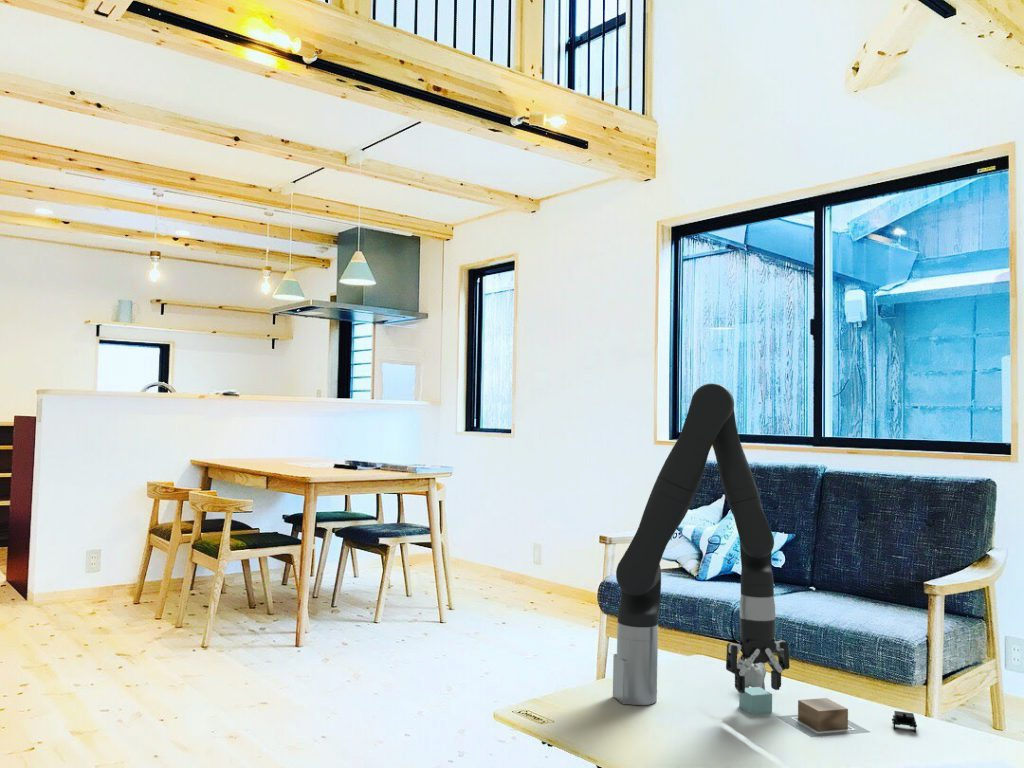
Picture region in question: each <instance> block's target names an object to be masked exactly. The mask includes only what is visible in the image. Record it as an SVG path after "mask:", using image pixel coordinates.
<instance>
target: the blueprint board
mask: <svg viewBox="0 0 1024 768" xmlns="http://www.w3.org/2000/svg"><path fill="white" fill-rule="evenodd" d="M776 717H777V718H779V719H780V720H782V721H784V722H785V723H787V724H788V725H790V726H792V727H793V728H795V729H797V730H799V731H800V732H801V733H803V734H805V735H807V736H808V737H810V738H815V737H816V738H817V737H827V736H828V737H829V736H839V735H852V734H864V733H871V731H870V730H868V729H866V728H864V727H862V726H860V725H858V724H856V723H854V722H853V721H851V720H849V719H848V729H838V730H826V731H817V730H816V729H814V728H812V727H811V726H809V725H807V724H805V723H804V722H802V721H800V720H798V714H788V715H777V716H776Z"/></svg>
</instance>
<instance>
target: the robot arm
mask: <svg viewBox="0 0 1024 768" xmlns="http://www.w3.org/2000/svg"><path fill="white" fill-rule="evenodd" d="M735 414H736V413H735V399H734V396H733V394H732V392H731V391H730V390H729V389H728V388H727V387H726V386H724V385H721V384H720V383H713V382H710V383H706V384H703V385H701V386H699V387H698V388H697V389H696V390H695V391H694V392H693V395H692V397H691V399H690V404H689V407H688V410H687V413H686V416H685V417H686V418H685V421H684V423H683V426H682V429H681V432H680V434H679V436H678V438H677V439H676V442H675V444H674V445H673V446H672V448H671V450H670V452H669V454H668V456H667V458H666V459H665V460H664V463H663V465H662V467H661V469H660V471H659V472H658V473H659V474H658V475H657V478H656V480H655V482H654V484H653V487H652V490H651V491H650V494H649V496H648V499H647V502H646V505H645V507H644V509H643V513H642V516H641V518H640V521H639V525H638V528H637V530H636V533H635V534H634V536H633V537H632V539H631V541H630V543H629V545H628V546H627V549H626V550H625V552H624V553H623V556H622V557H621V559H620V560H619V562H618V564H617V566H616V570H615V575H616V576H615V578H616V582H617V584H618V587H619V588H620V590H621V591H620V599H619V600H620V601H619V605H618V608H617V631H616V632H617V633H616V635H617V636H616V637H617V638H616V653H614V654H613V659H612V660H613V663H612V664H613V665H612V696H613V698H615V699H616V701H617V700H619V702H620V703H621V704H622V705H633V706H648V705H653V704H655V703H657V699H658V697H657V696H658V655H659V654H658V651H659V650H658V648H659V647H658V645H659V644H658V643H659V642H658V641H659V615H660V610H661V597H662V596H661V593H662V591H661V590H662V570H661V565H660V564H661V561H662V558H663V555H664V553H665V551H666V549H667V545H668V544H669V542H670V540H671V539H672V537H673V536H674V534H675V532H676V531H677V530H678V528H679V526H680V525H681V524H682V522H683V520H684V519H685V517H686V515H687V514H688V511H689V509H690V507H691V506H692V503H693V501H694V499H695V497H696V494H697V492H698V489H699V488H700V484H701V481H702V479H703V475H704V473H705V468H706V465H707V461H708V457H709V453H710V450H711V449H713V451H714V455H715V460H716V464H717V469H718V474H719V477H720V481H721V486H722V489H723V492H724V495H725V498H726V501H727V504H728V508H729V510H730V513H731V514H732V516H733V519H734V523H735V526H736V529H737V534H738V537H739V551H740V552H739V555H740V564H741V570H740V571H741V572H740V573H741V574H740V598H739V599H740V600H739V636H740V642H739V643H731V642H728V643H727V645H726V656H725V657H726V661H725V662H726V663H725V669H726V671H727V672H730V673H732V674H734V687H735V689H736V690H737V692H738V693H739V692H740V693H745V676H743V675H744V673H745V672H746V670H747V668H749V667H750V666H751V665H752V663H753V664H758V663H765V664H768V666H769V667H770V668H771V670H770V686H771V689H773V690H775V691H780V688H781V687H782V673H783V671H785V670H789V669H790V667H791V666H790V654H789V642H787V641H786V640H784V639H783V640H782V639H780V638H779V639H777V641H775V639H776V604H775V593H774V592H775V589H774V588H775V581H774V575H773V574H774V573H773V570H772V551H773V549H774V546H775V539H774V538H775V537H774V535H773V532H772V530H771V529H772V528H771V527H770V524H769V521H768V519H767V517H766V514H765V512H764V509H763V505H762V500H761V497H760V493H759V490H758V486H757V484H756V481H755V478H754V475H753V473H752V469H751V467H750V464H749V462H748V460H747V457H746V454H745V452H744V449H743V446H742V443H741V439H740V435H739V432H738V427H737V421H736V415H735ZM775 651H777V658H776V657H775V655H774V652H775ZM740 652H741V653H740ZM739 654H740V655H739ZM738 655H739V656H738Z"/></svg>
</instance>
